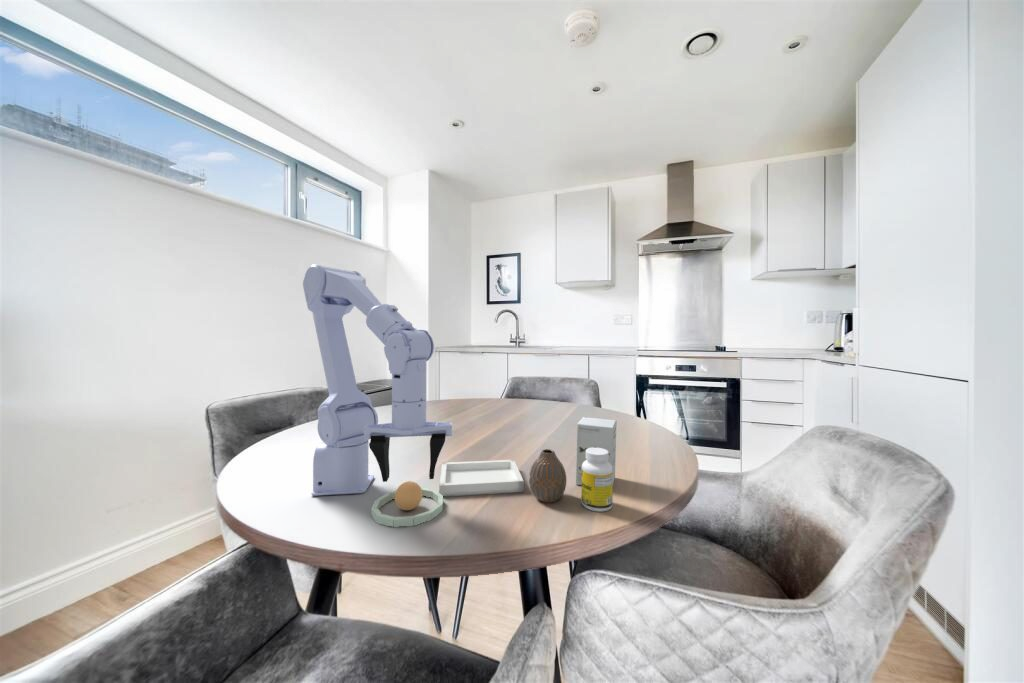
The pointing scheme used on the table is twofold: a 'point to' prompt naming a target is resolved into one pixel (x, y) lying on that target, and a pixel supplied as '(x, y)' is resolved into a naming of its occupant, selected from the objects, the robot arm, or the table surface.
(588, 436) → the supplement box
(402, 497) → the ball
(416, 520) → the ring
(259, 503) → the table surface
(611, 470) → the supplement bottle
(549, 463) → the vase
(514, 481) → the tray
